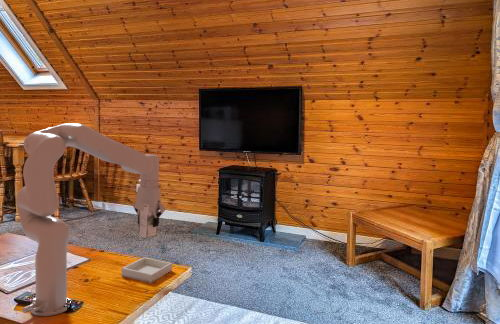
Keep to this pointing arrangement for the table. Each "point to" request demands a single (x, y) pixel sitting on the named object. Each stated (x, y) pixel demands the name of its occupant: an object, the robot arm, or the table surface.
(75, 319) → the table surface
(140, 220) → the syrup box
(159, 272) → the tray
